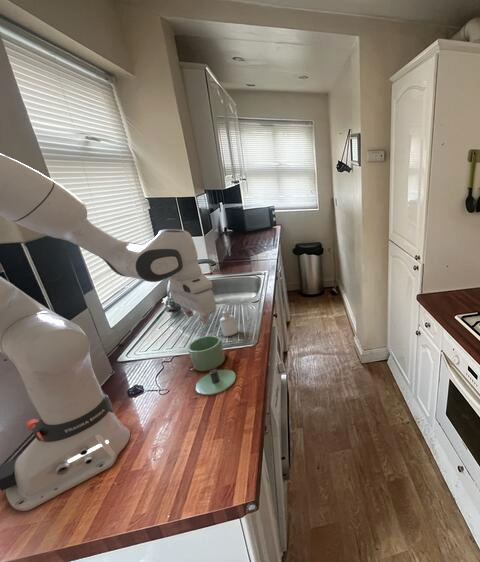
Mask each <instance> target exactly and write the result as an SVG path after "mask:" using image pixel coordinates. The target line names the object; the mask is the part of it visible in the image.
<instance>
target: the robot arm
mask: <svg viewBox="0 0 480 562" xmlns="http://www.w3.org/2000/svg"><path fill="white" fill-rule="evenodd" d="M0 217H2V218H4V219H6V220H8V221H10V222H12V223H14V224H16V225H17V226H21V227H22V228H26V229H28V230H30V231H33V232H36V233H38V234H41V235H44V236H46V237H50V238H53V239H60V240H64V241H66V242H69V243H72V244H73V245H75V246H78V247H80V248H82V249H83V250H84V251H85V250H86V251H87V252H89V253H91V254H92V255H95V256H97V257H98V258H100V259H102V260H103V262H104V263H106V264H107V266H108V267H109V268H110V269H111V271H113V272H114V273H115V274H117V275H119V276H121V277H124V278H132V279H136V280H140V281H144V282H148V283H158V282H161V281H164V280H166V279H169V280H168V281H169V291H170V295H171V299H172V301H173V302H174V303H175V304H178V305H179V306H180V307H181V309H182V310H183V312H184V314H185V317H187V318H191V317H193V316H194V312H196V313H198V314H199V315H200V317H201V318H200V324H202V325H204V326H205V325H208V324H210V319H209V317H210V315H212V314H213V313H215V312H216V311H217V304H216V298H215V295H214V292H213V290H212V289H213V286H214V285H213V282H212V281H211V280H210V279H209V278H208V277H207V276H206V275H205V274H204V273H203V271H202V268H201V265H200V264H199V261H198V258H199V256H198V252H197V248H196V245H195V241H194V239H193V237H192V235H191V233H190V232H189V231H187V230H184V229H177V228H176V229H175V228H164V229H161V230H159V231H158V233H157V235H156V236H154V238H152V239H151V240H150V241H149V242H147V243H145V244H143V245H142V244H139V243H135V242H130V241H123V240H120V239H118V238H116V237H115V236H113V235H111V234H109V233H108V232H106V231H104V230H103V229H102V228H99V227H98V226H97V225H95V224H93V223H92V222H91V221H90V220H89V219H88V209H87V206H86V204H85V203H84V202H83V201H82V200H81V199H80V198H78V196H76V195H75V194H74V193H72V192H71V191H70V190H68V189H67V188H65V187H64V186H63V185H61V184H60V183H58V182H56V181H54V180H53V179H51V178H50V177H48V176H46V175H44V174H43V173H41V172H39V171H38V170H36V169H33V168H32V167H30V166H28V165H26V164H24V163H22V162H20V161H18V160H16V159H14V158H11V157H9V156H7V155H5V154H2V153H0ZM90 348H91V343H90V340H89V338H88V335H86V333H85V331H84V330H83V329H82V327H81V326H79V325H78V324H77V323H74V322H72V321H71V320H69V319H67V318H65V317H63V316H61V315H60V314H58V313H56V312H54V311H52V310H50V309H49V308H47V307H46V306H45V305H43V304H42V303H40V302H39V301H37V300H36V299H35V298H32V297H31V296H30V295H28V294H27V293H25V292H24V291H23V290H21V289H20V288H18V287H17V286H15V284H13V283H12V282H10V281H9V280H7V279H6V278H4V277H3V276H1V275H0V353H1V354H2V355H4V356H6V357H7V358H8V359H9V360H10V361H11V362H12V363H13V365H14V366H15V368H16V369H17V370H18V371H17V372H18V373H19V375H20V378H21V379H22V382H23V384H24V387H25V390H26V394H27V397H28V399H29V400H30V401H31V404H32V405H33V407H34V408H35V411H36V413H37V414H38V415H39V417H40V419H37V418H32V419H29V420H28V421H27V422H26V424H25V427H26V428H27V430H28V431H32V433H33V435H34V437H35V438H34V439H33V440H31V442H30V443H29V445H28V446H26V448H25V449H24V450H23V451H22V452H21V453H20V454H19V455H18V456H17V457H15V458H13V459H11V460H8V461H5V462H4V463H3V462H2V463H1V464H0V491H1V492H3V491H5V496H6V499H7V501H8V503H9V505H10V506H11V507H12V508H13V509H15V511H16V510H17V511H20V512H27V511H31V510H33V509H35V508H36V507H38V506H40V505H41V504H44V503H45V502H48V501H49V500H51V499H53V498H55V497H57V496H59V495H61V494H62V493H64V492H66V491H68V490H70V489H72V488H74V487H75V486H77V485H79V484H81V483H83V482H85V481H87V480H89V479H90V478H92V477H95V476H96V475H98V474H100V473H102V472H104V471H106V470H107V469H109V468H111V467H113V465H114V464H115V463H116V460H117V458H118V456H119V454H120V453H121V451H122V450H123V449H125V447H126V446H127V444H128V442H129V440H130V438H131V431H130V429H129V428H128V427H127V426H126V425H124V424H123V423H122V422H121V420H120V419H119V418H118V416H116V414H115V412H114V408H113V404H112V402H111V399H110V397H109V396H108V394H107V393H106V392H105V391H104V390H102V387H101V384H100V382H99V381H98V378H97V376H96V373H95V372H94V369H93V365H92V359H91V352H90Z"/></svg>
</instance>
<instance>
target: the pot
mask: <svg viewBox="0 0 480 562" xmlns="http://www.w3.org/2000/svg"><path fill="white" fill-rule="evenodd" d="M187 351H188V355H189V358H190V362H191V365H192V367H193V370H195V371H197V372H204V371H206V372H207V371H211V370H213V369H216V368H218V367H219V366H221V365H222V364H223V363H224V362H225V360H226V355H225V351H224V348H223V343H222V340H221V337H220V336H218V335H212V334H211V335H205V336H202V337H198V338H196V339H194V340H192V341H191V342H190V343H189V344H188V345H187Z"/></svg>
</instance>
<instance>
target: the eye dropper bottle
mask: <svg viewBox="0 0 480 562" xmlns="http://www.w3.org/2000/svg"><path fill="white" fill-rule="evenodd" d="M221 314H222V316H221V318H219V323H220V327H221V331H222V332H221V333H222V336H223V337H231V336H234V335H236V334H238V326H237V322H236V318H235V316H234V315H232V314H230V311H229V310H227V308H226V307H225V308H223V311H222V313H221Z"/></svg>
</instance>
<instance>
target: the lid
mask: <svg viewBox="0 0 480 562" xmlns="http://www.w3.org/2000/svg"><path fill="white" fill-rule="evenodd" d="M236 379H237V375H236V373H235V372H234V371H233V370H230V369H216V368H213V369H210V370H209V373H207V374H204V375H203V376H202V377H201V378H200V379H199V380H198V381H197V382H196V384H195V392H196V393H197V394H198V395H201V396H215V395H218V394H220V393H222V392H224V391H226V390H228V389H229V388H230V387H232V386H233V385H234V383H235V381H236Z"/></svg>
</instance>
